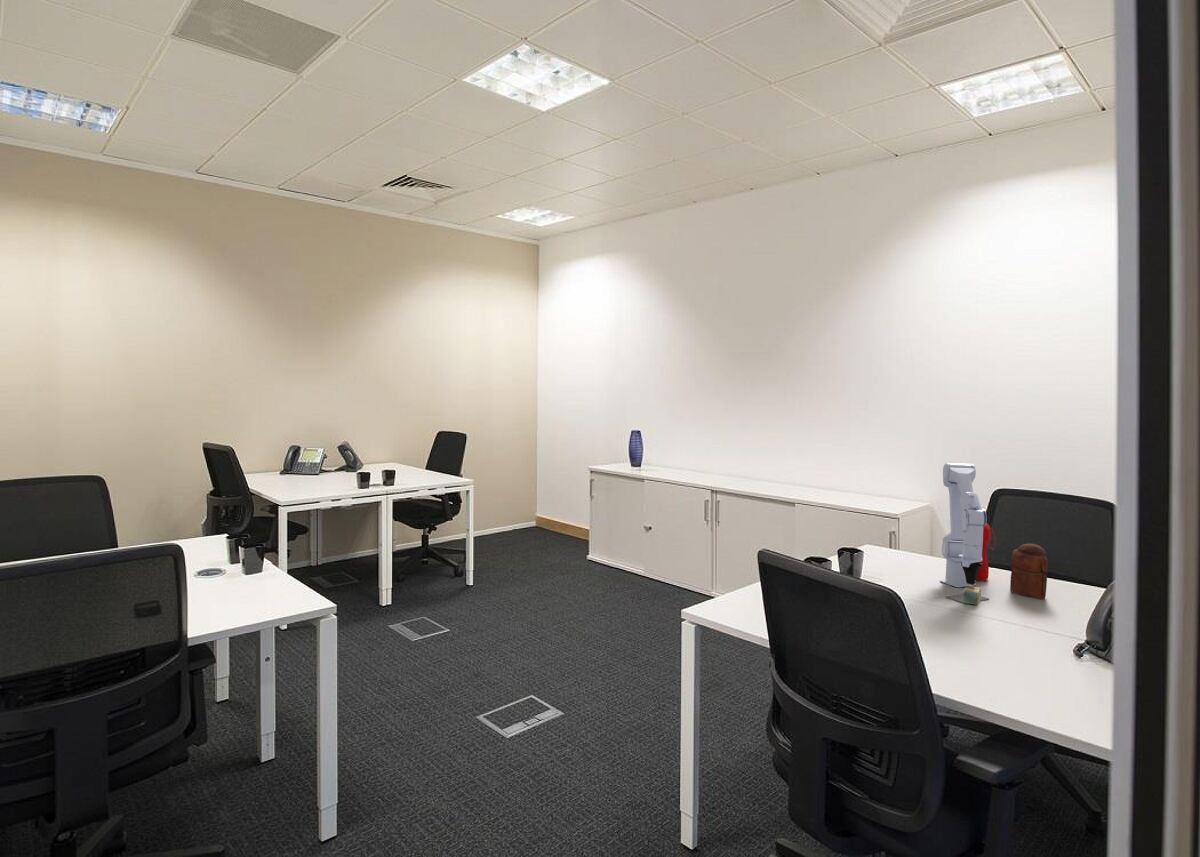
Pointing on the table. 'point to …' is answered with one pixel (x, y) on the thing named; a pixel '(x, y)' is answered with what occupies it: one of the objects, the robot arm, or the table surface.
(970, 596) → the oak block
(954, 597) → the slate mat
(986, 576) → the water bottle
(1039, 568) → the brown upright rounded block
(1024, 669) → the table surface
